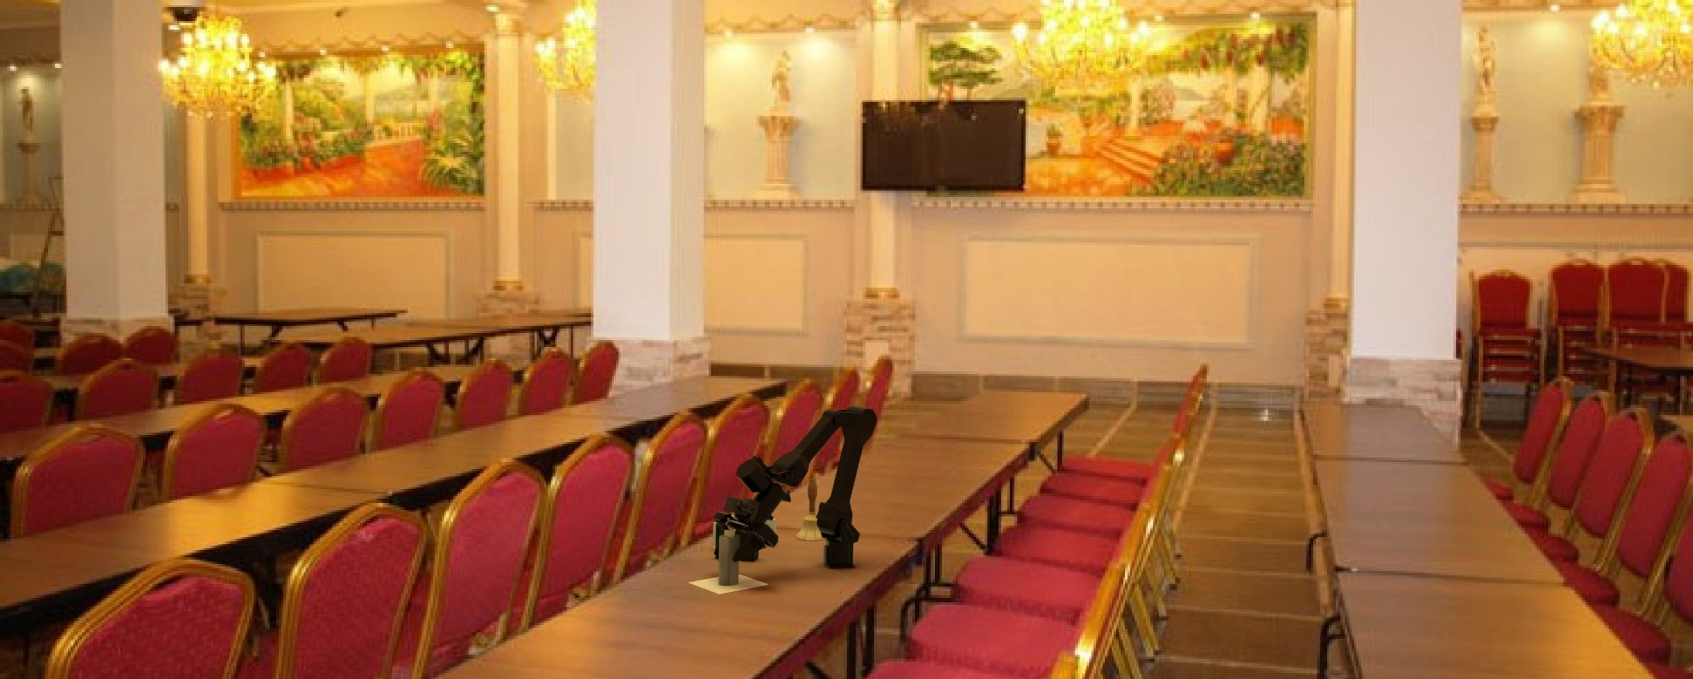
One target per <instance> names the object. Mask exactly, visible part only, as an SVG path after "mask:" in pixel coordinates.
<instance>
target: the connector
mask: <svg viewBox="0 0 1693 679" xmlns="http://www.w3.org/2000/svg"><path fill="white" fill-rule="evenodd" d="M739 540H740V535H737V534H735V532H734V531H731V530H724V535H721V536H719V559H718V576H717V577H718V584H719V585H721V586H733V585H737V584H738V583H739V574H740V561H737V562H733V561H732V558H733V556H734V554H735V553H736V551H737V550H738V548H739Z"/></svg>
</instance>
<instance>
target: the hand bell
mask: <svg viewBox="0 0 1693 679" xmlns="http://www.w3.org/2000/svg"><path fill="white" fill-rule="evenodd" d="M807 497H808V501H809V504H808V505H809V506H808V515H807V516H806V515H805V516H804V517H803V523H802V526H801V529H800V531H799V532H798V533H797V534H796V535H795V538H796V539H798V540H800V541H807V542H818V541H819V542H820V541H824V540H825V541H826V538H822V536H821V533H820V530H819V528H818V526H817V518H816V516H817V514H816V500H817V498H818V484H817V482H816V478H814V477H813V478H809V482H808V484H807Z"/></svg>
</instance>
